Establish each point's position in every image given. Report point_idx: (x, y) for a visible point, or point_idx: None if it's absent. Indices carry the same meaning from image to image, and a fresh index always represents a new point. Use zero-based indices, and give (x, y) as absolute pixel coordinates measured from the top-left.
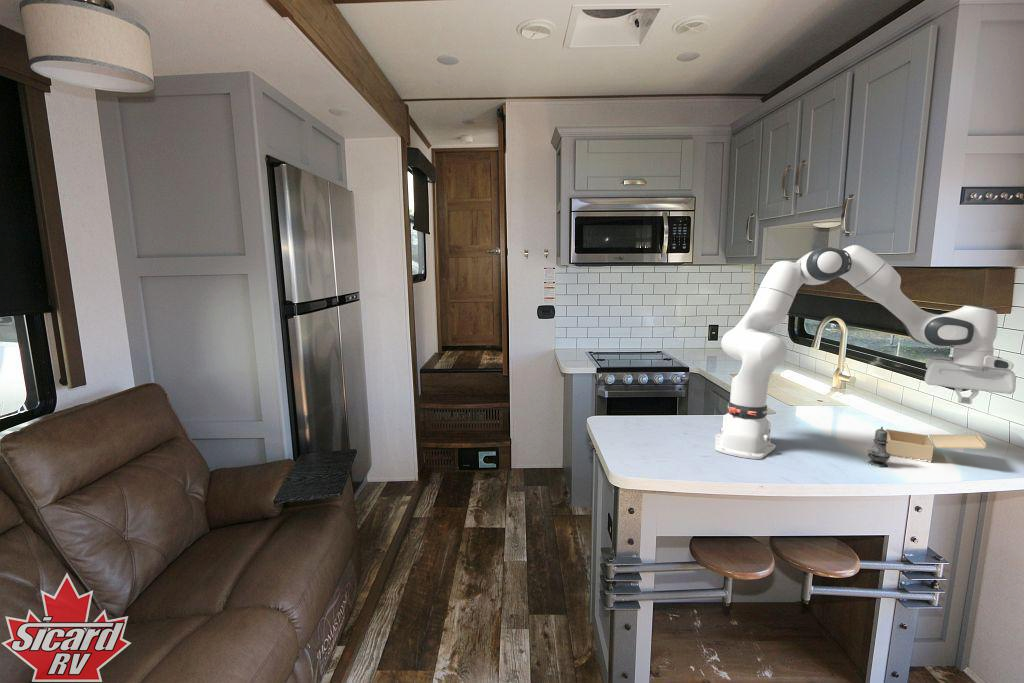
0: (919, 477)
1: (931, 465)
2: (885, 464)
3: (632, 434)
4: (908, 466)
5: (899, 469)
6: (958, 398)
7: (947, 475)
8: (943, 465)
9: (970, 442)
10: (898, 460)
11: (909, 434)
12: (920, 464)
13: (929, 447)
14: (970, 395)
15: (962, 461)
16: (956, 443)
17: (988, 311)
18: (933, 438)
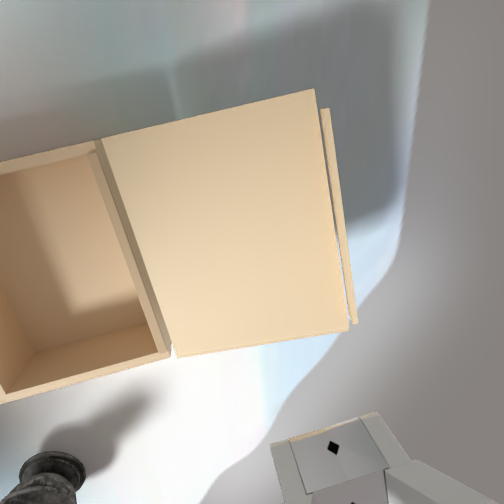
0: (177, 485)
1: None
2: (75, 478)
3: None
4: (128, 420)
5: (118, 467)
6: (279, 480)
7: (233, 408)
8: None
9: (297, 265)
10: (85, 386)
11: (13, 170)
12: (151, 369)
13: (157, 359)
14: (419, 500)
15: None
16: (245, 294)
17: None
18: (140, 222)
